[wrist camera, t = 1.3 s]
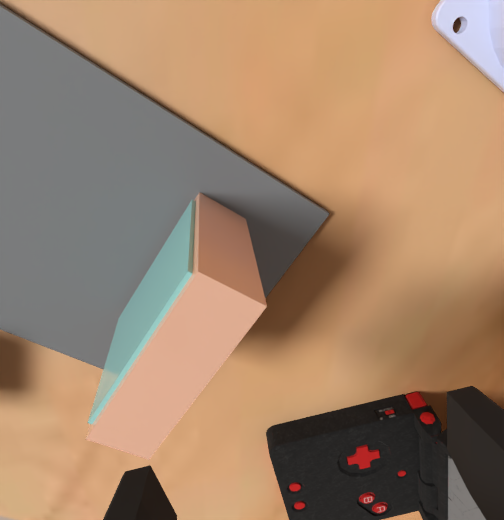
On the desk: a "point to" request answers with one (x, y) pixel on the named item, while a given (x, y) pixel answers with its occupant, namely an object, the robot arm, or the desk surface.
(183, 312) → the block
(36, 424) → the desk surface
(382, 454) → the handheld gaming console
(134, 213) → the mat
